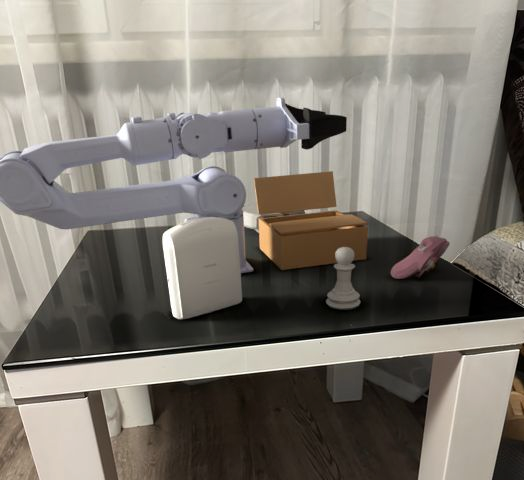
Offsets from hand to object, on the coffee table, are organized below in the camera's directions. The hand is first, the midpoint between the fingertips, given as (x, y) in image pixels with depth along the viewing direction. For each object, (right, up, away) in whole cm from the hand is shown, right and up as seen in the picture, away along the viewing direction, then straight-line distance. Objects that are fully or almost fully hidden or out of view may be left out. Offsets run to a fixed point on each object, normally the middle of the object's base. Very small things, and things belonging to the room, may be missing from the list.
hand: (334, 121), depth 85 cm
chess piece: (0, -30, -10) cm, 31 cm away
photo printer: (-19, -30, -10) cm, 37 cm away
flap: (-5, -8, +12) cm, 15 cm away
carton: (-3, -19, +10) cm, 22 cm away
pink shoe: (+13, -24, -1) cm, 27 cm away
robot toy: (-9, -11, +26) cm, 30 cm away
